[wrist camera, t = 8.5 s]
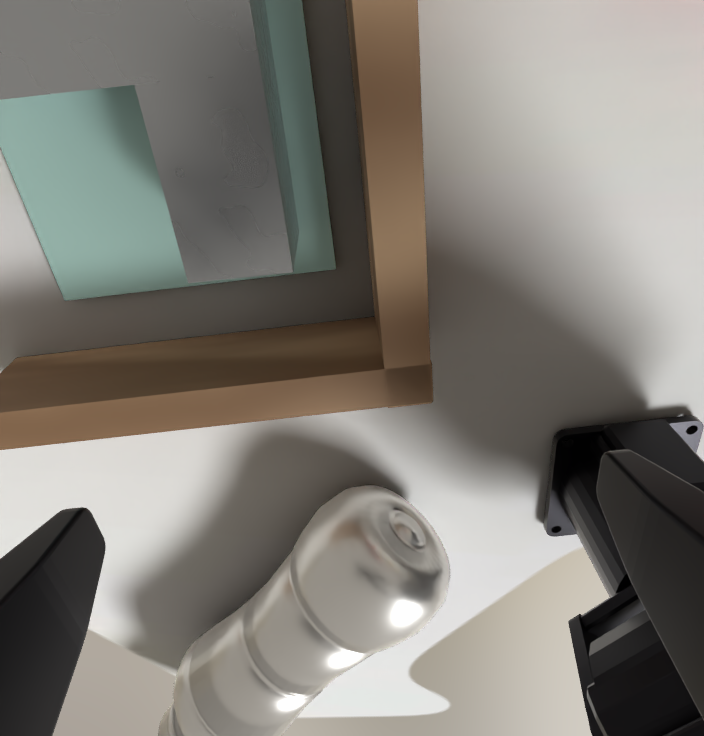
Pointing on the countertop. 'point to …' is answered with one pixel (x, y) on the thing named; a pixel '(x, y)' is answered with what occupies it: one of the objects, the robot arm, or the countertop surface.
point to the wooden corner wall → (285, 344)
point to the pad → (145, 177)
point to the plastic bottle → (313, 617)
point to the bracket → (179, 112)
